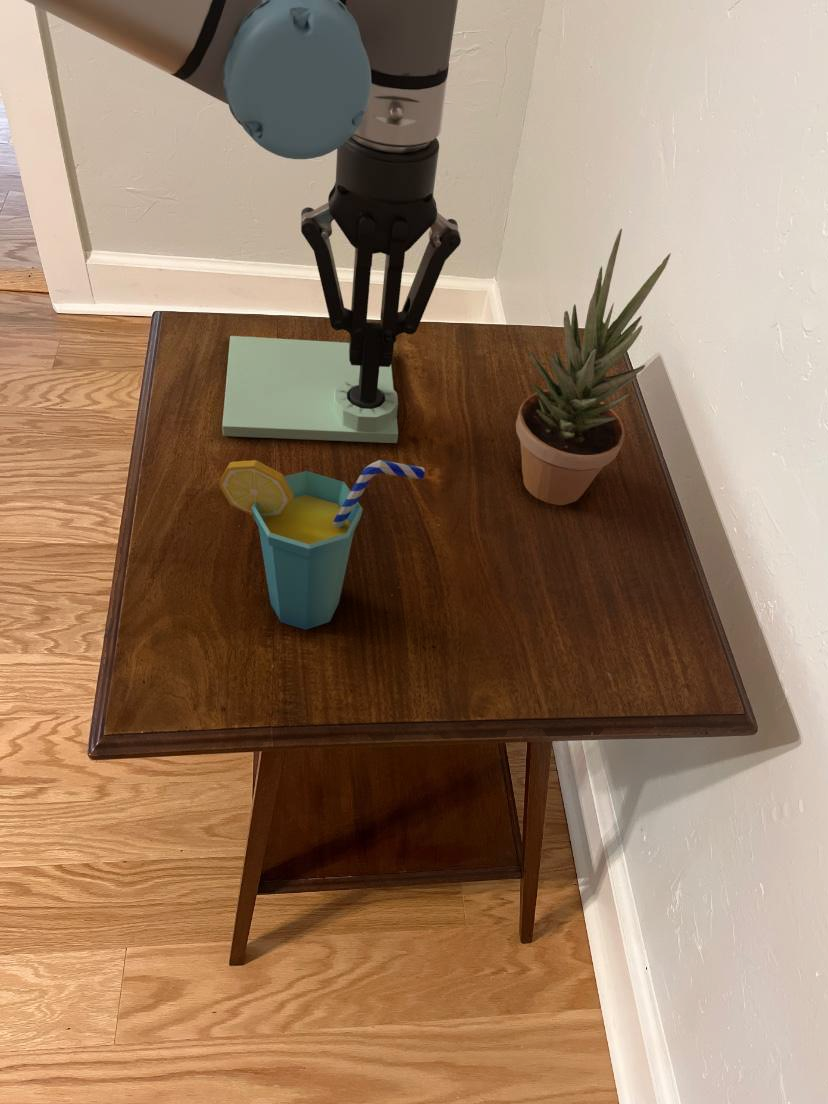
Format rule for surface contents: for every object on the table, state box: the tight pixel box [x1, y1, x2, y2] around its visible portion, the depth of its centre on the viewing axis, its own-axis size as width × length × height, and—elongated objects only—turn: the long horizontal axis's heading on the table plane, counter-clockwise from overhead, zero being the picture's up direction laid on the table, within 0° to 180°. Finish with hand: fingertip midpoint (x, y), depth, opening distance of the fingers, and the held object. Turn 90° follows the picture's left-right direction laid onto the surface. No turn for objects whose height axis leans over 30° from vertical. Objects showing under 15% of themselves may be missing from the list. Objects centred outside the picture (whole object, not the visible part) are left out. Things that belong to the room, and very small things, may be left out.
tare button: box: [350, 385, 382, 409], centre depth 85 cm, size 3×3×2 cm
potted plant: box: [515, 227, 672, 506], centre depth 76 cm, size 10×10×25 cm
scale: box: [221, 335, 399, 444], centre depth 88 cm, size 16×14×3 cm
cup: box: [217, 459, 426, 631], centre depth 66 cm, size 14×8×15 cm, turn 97°
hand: (367, 391), depth 84 cm, fingers closed
